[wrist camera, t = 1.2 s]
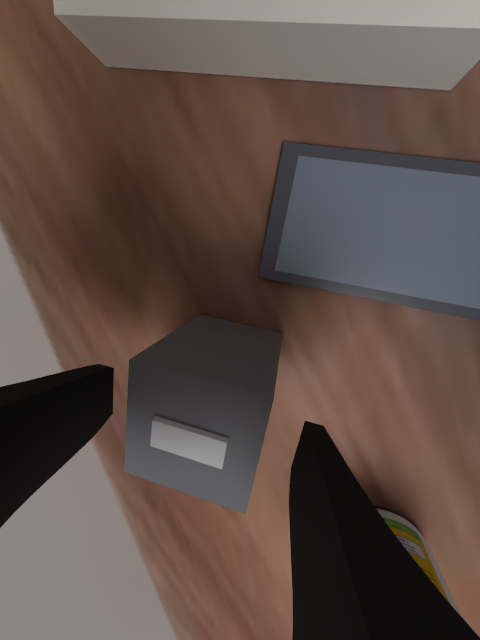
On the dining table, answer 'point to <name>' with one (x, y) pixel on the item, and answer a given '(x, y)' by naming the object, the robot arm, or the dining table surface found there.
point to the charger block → (202, 409)
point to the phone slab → (377, 227)
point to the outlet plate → (285, 38)
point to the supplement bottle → (417, 550)
